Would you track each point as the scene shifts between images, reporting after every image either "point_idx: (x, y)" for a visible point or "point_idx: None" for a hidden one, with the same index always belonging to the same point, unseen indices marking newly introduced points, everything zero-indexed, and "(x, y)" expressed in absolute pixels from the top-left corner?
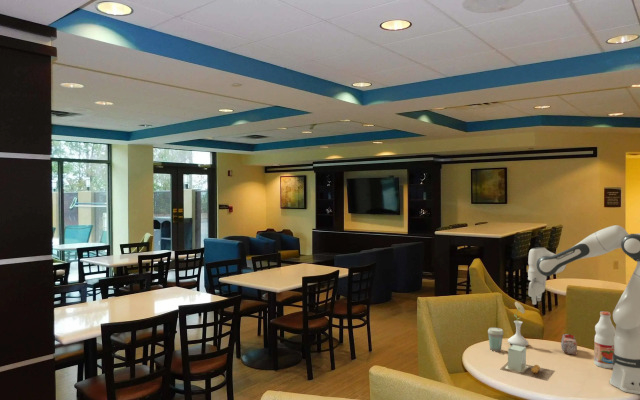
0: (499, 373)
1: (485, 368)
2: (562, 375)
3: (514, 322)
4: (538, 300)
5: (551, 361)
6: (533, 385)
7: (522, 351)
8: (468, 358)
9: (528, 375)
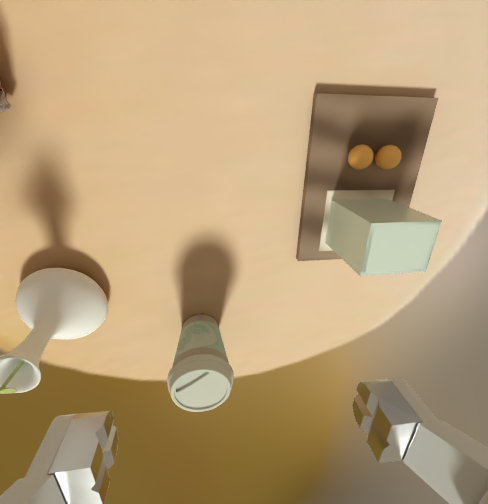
0: None
1: (385, 289)
2: (327, 57)
3: (34, 383)
4: (107, 438)
5: (178, 135)
6: (469, 135)
7: (424, 220)
8: (328, 348)
9: (412, 168)
